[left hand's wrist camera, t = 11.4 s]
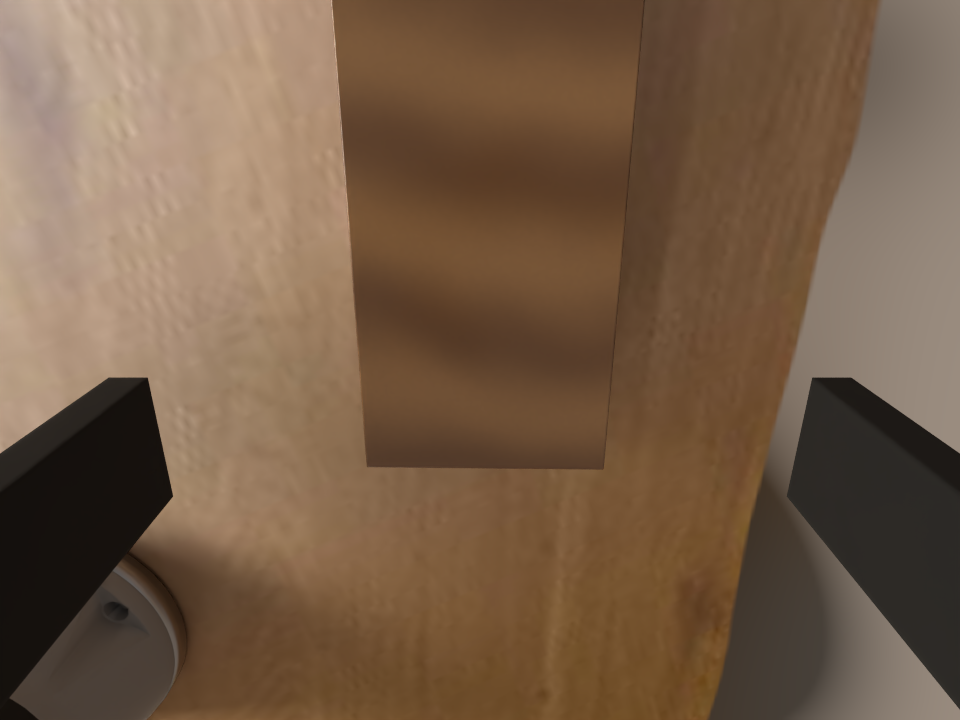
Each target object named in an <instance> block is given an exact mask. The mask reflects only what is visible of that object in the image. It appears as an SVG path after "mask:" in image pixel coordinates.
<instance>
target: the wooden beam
mask: <svg viewBox="0 0 960 720" xmlns="http://www.w3.org/2000/svg"><path fill="white" fill-rule="evenodd" d="M644 2H645V0H331V7H332V20H333V33H334V46H335V59H336V72H337V85H338V98H339V111H340V124H341V137H342V150H343V163H344V176H345V189H346V202H347V215H348V228H349V241H350V254H351V267H352V280H353V293H354V306H355V319H356V332H357V345H358V358H359V371H360V384H361V397H362V410H363V422H364V435H365V448H366V461H367V467H413V468H513V469H603V468H604V458H605V447H606V435H607V424H608V412H609V401H610V390H611V378H612V367H613V355H614V344H615V333H616V321H617V310H618V298H619V287H620V276H621V264H622V253H623V241H624V230H625V219H626V207H627V196H628V184H629V173H630V162H631V150H632V139H633V127H634V116H635V105H636V93H637V82H638V70H639V59H640V48H641V36H642V25H643V13H644Z"/></svg>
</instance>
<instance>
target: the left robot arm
mask: <svg viewBox="0 0 960 720" xmlns="http://www.w3.org/2000/svg"><path fill="white" fill-rule="evenodd" d="M172 497H173V494H172V489H171V484H170V480H169V475H168V470H167V466H166V461H165V456H164V452H163V447H162V442H161V438H160V433H159V428H158V424H157V419H156V414H155V410H154V405H153V400H152V396H151V391H150V386H149V382H148V378H108V379H106V380H105V381H103V382H102V383H101V384H99V385H98V386H96V387H95V388H93V389H92V390H91V391H89V392H88V393H86V394H85V395H83V396H82V397H80V398H79V399H78V400H76V401H75V402H73V403H72V404H70V405H69V406H68V407H66V408H65V409H63V410H62V411H60V412H59V413H58V414H56V415H55V416H53V417H52V418H50V419H49V420H48V421H46V422H45V423H43V424H42V425H40V426H39V427H38V428H36V429H35V430H33V431H32V432H30V433H29V434H28V435H26V436H25V437H23V438H22V439H20V440H19V441H18V442H16V443H15V444H13V445H12V446H10V447H9V448H8V449H6V450H5V451H3V452H2V453H0V720H146V719H147V718H149V717H150V716H151V714H152V713H153V712H154V711H155V710H156V708H157V707H158V706H159V705H160V704H161V702H162V701H163V700H164V699H165V697H166V696H167V694H168V692H169V691H170V689H171V687H172V685H173V683H174V682H175V680H176V678H177V676H178V674H179V673H180V671H181V668H182V666H183V664H184V660H185V656H186V649H187V637H186V630H185V626H184V622H183V619H182V616H181V614H180V611H179V609H178V607H177V605H176V603H175V601H174V600H173V598H172V597H171V595H170V594H169V592H168V591H167V589H166V588H165V587H164V586H163V584H162V583H161V582H160V581H159V580H158V579H157V578H156V577H155V576H154V575H153V574H152V573H151V572H150V571H149V570H148V569H147V568H146V567H145V566H143V565H142V564H141V563H140V562H138V561H137V560H136V559H134V558H133V557H132V556H130V555H129V554H127V552H128V551H129V550H130V549H131V548H132V546H133V545H134V544H135V543H136V541H137V540H138V539H139V538H140V536H141V535H142V534H143V533H144V532H145V530H146V529H147V528H148V527H149V525H150V524H151V523H152V522H153V520H154V519H155V518H156V517H157V516H158V514H159V513H160V512H161V511H162V509H163V508H164V507H165V506H166V504H167V503H168V502H169V501H170V500H171V498H172ZM787 497H788V498H789V500H790V501H791V502H792V503H793V504H794V506H795V507H796V508H797V509H798V511H799V512H800V513H801V514H802V516H803V517H804V518H805V519H806V520H807V522H808V523H809V524H810V525H811V527H812V528H813V529H814V530H815V532H816V533H817V534H818V535H819V536H820V538H821V539H822V540H823V541H824V543H825V544H826V545H827V546H828V548H829V549H830V550H831V551H832V552H833V554H834V555H835V556H836V557H837V559H838V560H839V561H840V562H841V564H842V565H843V566H844V567H845V569H846V570H847V571H848V572H849V573H850V575H851V576H852V577H853V578H854V580H855V581H856V582H857V583H858V585H859V586H860V587H861V588H862V589H863V591H864V592H865V593H866V594H867V596H868V597H869V598H870V599H871V600H872V602H873V603H874V604H875V605H876V607H877V608H878V609H879V610H880V612H881V613H882V614H883V615H884V617H885V618H886V619H887V620H888V621H889V623H890V624H891V625H892V626H893V628H894V629H895V630H896V631H897V633H898V634H899V635H900V636H901V638H902V639H903V640H904V641H905V642H906V644H907V645H908V646H909V647H910V649H911V650H912V651H913V652H914V654H915V655H916V656H917V657H918V658H919V660H920V661H921V662H922V663H923V665H924V666H925V667H926V668H927V670H928V671H929V672H930V673H931V674H932V676H933V677H934V678H935V679H936V681H937V682H938V683H939V684H940V686H941V687H942V688H943V689H944V690H945V692H946V693H947V694H948V695H949V697H950V698H951V699H952V700H953V702H954V703H955V704H956V705H957V707H958V708H959V709H960V453H958V452H957V451H955V450H954V449H952V448H951V447H950V446H948V445H947V444H945V443H944V442H942V441H941V440H940V439H938V438H937V437H935V436H934V435H932V434H931V433H930V432H928V431H927V430H925V429H924V428H922V427H921V426H920V425H918V424H917V423H915V422H914V421H912V420H911V419H910V418H908V417H907V416H905V415H904V414H902V413H901V412H900V411H898V410H897V409H895V408H894V407H892V406H891V405H890V404H888V403H887V402H885V401H884V400H882V399H881V398H879V397H878V396H877V395H875V394H874V393H872V392H871V391H869V390H868V389H867V388H865V387H864V386H862V385H861V384H859V383H858V382H857V381H855V380H854V379H852V378H812V382H811V386H810V391H809V396H808V400H807V405H806V410H805V414H804V419H803V424H802V428H801V433H800V438H799V442H798V447H797V452H796V456H795V461H794V466H793V470H792V475H791V480H790V484H789V490H788V494H787Z"/></svg>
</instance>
